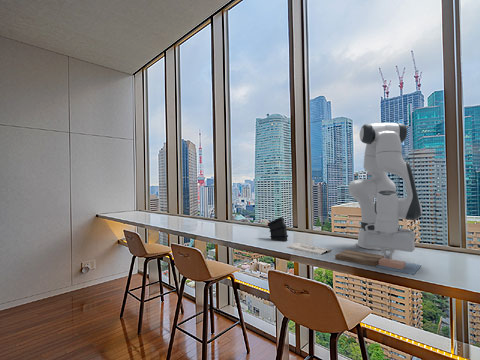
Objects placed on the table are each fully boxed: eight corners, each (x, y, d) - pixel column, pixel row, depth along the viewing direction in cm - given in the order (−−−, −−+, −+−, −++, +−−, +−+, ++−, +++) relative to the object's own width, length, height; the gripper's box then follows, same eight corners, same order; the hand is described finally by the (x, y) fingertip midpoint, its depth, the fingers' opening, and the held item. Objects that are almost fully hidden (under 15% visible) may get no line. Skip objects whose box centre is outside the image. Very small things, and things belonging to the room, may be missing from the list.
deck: (346, 253, 140) (346, 249, 140) (384, 260, 128) (384, 255, 128) (335, 258, 130) (335, 254, 130) (375, 266, 117) (375, 261, 117)
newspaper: (333, 252, 145) (333, 247, 145) (320, 258, 137) (320, 253, 137) (298, 245, 162) (298, 240, 162) (285, 250, 154) (285, 246, 154)
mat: (386, 259, 128) (386, 259, 128) (421, 265, 118) (421, 265, 118) (375, 267, 116) (375, 266, 116) (413, 274, 107) (413, 273, 107)
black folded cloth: (289, 239, 168) (280, 217, 172) (273, 246, 175) (264, 224, 179) (292, 238, 171) (283, 216, 175) (276, 245, 178) (267, 223, 182)
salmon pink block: (378, 264, 119) (378, 260, 119) (383, 262, 123) (383, 257, 123) (401, 269, 112) (401, 264, 112) (405, 266, 117) (405, 261, 117)
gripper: (416, 229, 115) (417, 261, 114) (366, 224, 129) (366, 253, 129) (413, 230, 110) (413, 264, 110) (361, 225, 124) (361, 255, 124)
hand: (387, 258), depth 119 cm, fingers closed
